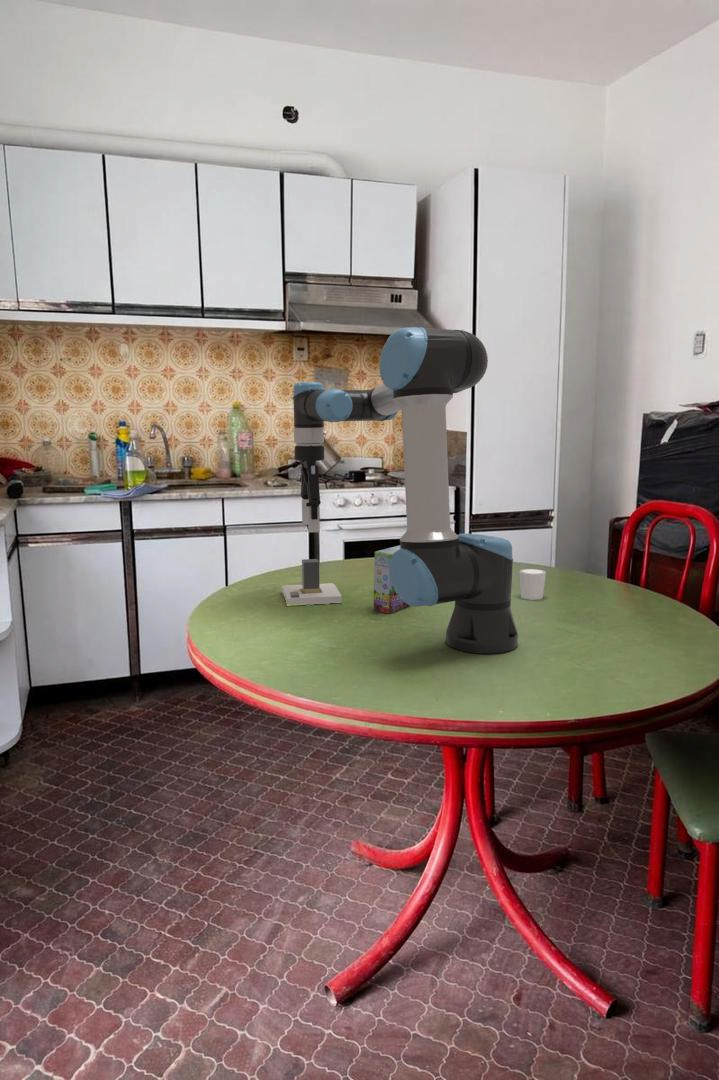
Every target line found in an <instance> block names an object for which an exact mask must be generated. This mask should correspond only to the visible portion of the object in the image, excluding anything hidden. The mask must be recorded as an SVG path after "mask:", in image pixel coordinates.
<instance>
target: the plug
mask: <svg viewBox="0 0 719 1080" xmlns="http://www.w3.org/2000/svg"><path fill="white" fill-rule="evenodd" d="M301 583H302V584H301V585H302V594H307V593H320V589H319V584H320V561H319V560H318V558H311V559H309V558H308V559H305V558H304V559H301Z"/></svg>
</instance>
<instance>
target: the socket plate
mask: <svg viewBox="0 0 719 1080" xmlns="http://www.w3.org/2000/svg"><path fill="white" fill-rule="evenodd" d="M319 589H320V593H307V594H302V584H290V585H289V584H288V585H281V593H282V592H283V594H282V596H283V595H284V597H285V600H286V602H285V604H286V603H287V604H326V605H328V604H327V603H342V604H343V595H342V594H341V592H340V591H339V589H338V587H337V586H336V585H335V583H332V582H331V583H328V582H327V583H319ZM284 597H283V598H284ZM285 600H284V601H285Z"/></svg>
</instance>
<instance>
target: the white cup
mask: <svg viewBox="0 0 719 1080" xmlns="http://www.w3.org/2000/svg"><path fill="white" fill-rule="evenodd" d="M546 575H547V572H546V571H545V570H544V569H536V568H523V569H520V570H519V585H520V586H519V587H520V598H521V599H523V600H530V601H538V600H539V601H540V600H542V599H543V598H544V590H545V583H546Z"/></svg>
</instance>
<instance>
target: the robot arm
mask: <svg viewBox="0 0 719 1080" xmlns="http://www.w3.org/2000/svg"><path fill="white" fill-rule="evenodd" d="M488 358H489V357H488V353H487V349H486V347H485V345H484V343H483V342H482V341H481V340H480V338H479V337H478V336H476V335H475V334H473V333H471V332H469V331H466V330H464V329H447V328H434V327H423V326H416V327H415V326H411V327H401V328H399V329H396V330H395V331H393V332H392V333H391V334H390V335H389V337H388V338H387V340H386V341H385V344H384V345H383V347H382V350H381V353H380V359H379V376H380V379H381V381H382V383H381V384H379V385H378V386H375V387H373V388H371V389H339V388H338V389H337V388H333V389H332V388H329V389H324V388H325V387H324V385H323V383H322V382H317V381H314V382H313V381H311V382H310V381H308V382H306V381H305V382H300V381H299V382H296V383H294V385H293V397H292V401H293V443H294V444H296V445H295V446H294V460H295V461H297V462H301V468H300V472H301V481H300V483H301V485H300V496H301V524H302V525H308V526H307V527H308V528H307V531H308V533H320V529H321V528H320V526H321V525H320V505H321V503H322V502H321V496H320V495H321V493H320V483H319V480H320V479H319V465H316V462H321V461H324V460H325V446H324V445H322V444H323V443H325V436H326V435H327V431H325V422H327V423H339V422H371V421H372V422H386V421H391V420H393V419H394V418H396V415H397V414H398V413H399V412H400V411H401V422H402V425H401V427H402V444H403V447H402V449H403V468H404V489H405V509H406V510H405V512H406V514H405V515H406V531H405V532H404V534H403V535H402V536H401V537H400V538H399V545H400V549H399V550H397V551H396V552H394V553H393V555H392V557H391V558H392V559H391V560H390V563H389V573H390V578H391V582H392V585H393V587H394V589H395V591H396V593H397V594H398V595H399V597H400V598H401V599H402V600H403V601H404V602H405V603H406V604H408V605H410V606H409V607H419V608H420V607H433V606H435V605H439V604H440V605H441V604H446V603H450V602H454V608H453V610H452V613H451V617H450V620H449V622H448V625H447V628H446V633H445V642H446V644H447V645H448V646H449V647H451V648H453V649H454V650H458V651H462V652H467V653H472V654H487V655H489V654H500V653H506V652H510V651H513V650H514V649H516V648H517V647H518V645H519V643H518V642H519V633H518V629H517V627H516V624H515V620H514V615H513V612H512V609H511V607H512V606H511V605H512V603H511V602H512V600H511V599H512V586H513V584H512V583H513V582H512V580H513V579H512V578H513V565H514V564H513V562H514V559H513V546H512V543H511V542H510V541H509V540H508V539H505V538H502V537H498V536H492V535H486V534H485V535H484V534H478V533H476V534H475V533H459V534H457V533H456V532H454V531H453V530H452V528H451V513H450V510H451V508H450V487H449V485H450V484H449V462H448V461H449V460H448V438H447V437H448V436H447V434H448V433H447V413H446V412H447V411H446V410H447V409H446V407H447V404H448V403H449V402H450V401H451V400H452V399H453V397H454V394H458V393H461V392H463V391H465V390H468V389H470V388H472V387H474V386H476V385H477V384H478V383H480V381H481V380H482V379H483V378H484V376H485V374H486V371H487V369H488V361H489V359H488Z"/></svg>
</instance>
